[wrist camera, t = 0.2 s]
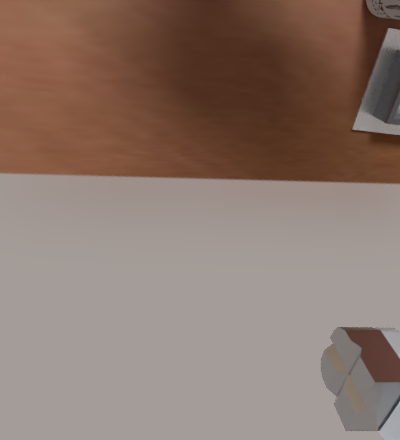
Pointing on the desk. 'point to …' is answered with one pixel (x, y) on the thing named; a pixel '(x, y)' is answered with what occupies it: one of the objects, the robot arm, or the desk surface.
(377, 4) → the energy drink can
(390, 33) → the socket
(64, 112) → the desk surface
